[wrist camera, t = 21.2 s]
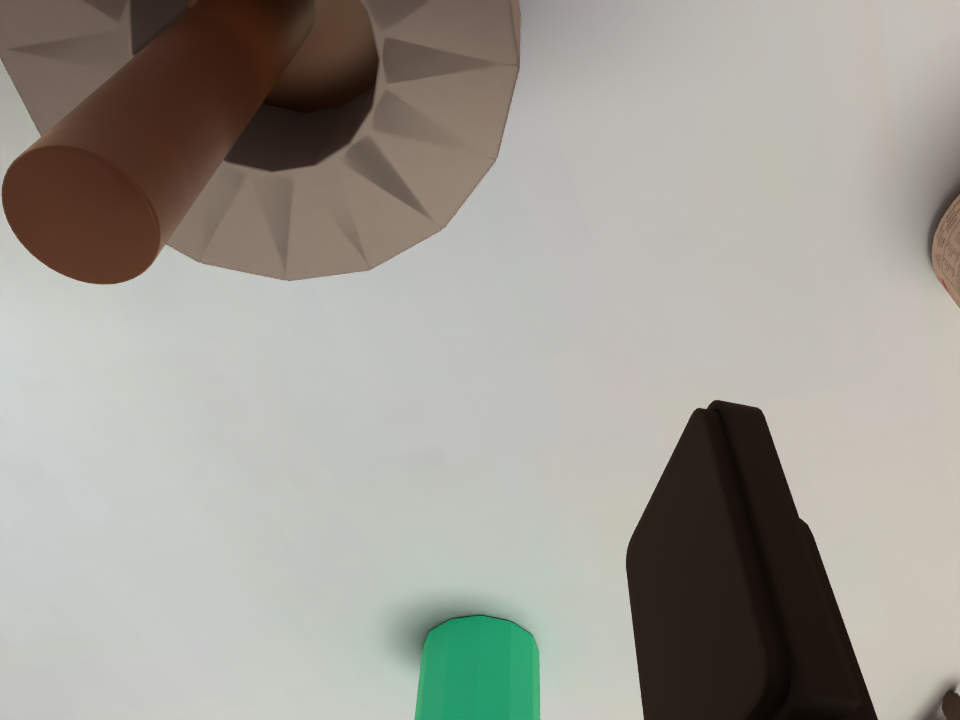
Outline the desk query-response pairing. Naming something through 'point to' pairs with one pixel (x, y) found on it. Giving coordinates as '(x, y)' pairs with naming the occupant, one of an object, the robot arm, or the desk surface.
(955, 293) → the beverage can
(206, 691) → the desk surface
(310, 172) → the tape
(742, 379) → the desk surface
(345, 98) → the rack
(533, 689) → the candle
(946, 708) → the clip-on lamp
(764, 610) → the robot arm
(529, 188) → the desk surface
